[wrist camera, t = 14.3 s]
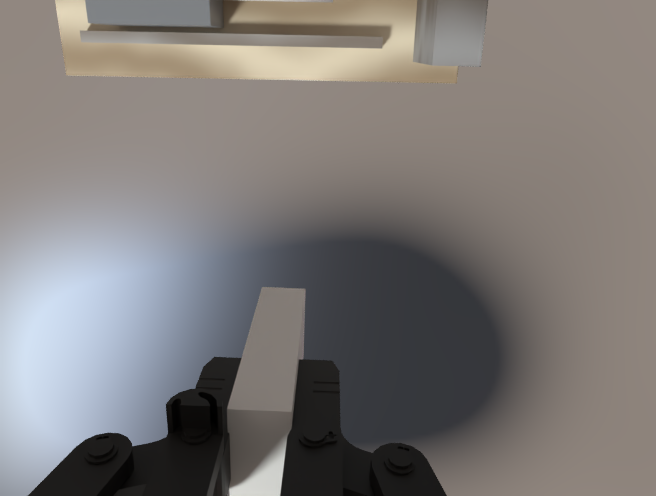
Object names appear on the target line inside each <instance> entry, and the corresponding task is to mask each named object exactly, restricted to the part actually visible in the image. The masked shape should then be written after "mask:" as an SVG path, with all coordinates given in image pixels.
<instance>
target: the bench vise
mask: <svg viewBox="0 0 656 496" xmlns="http://www.w3.org/2000/svg"><path fill="white" fill-rule="evenodd" d="M55 2H56V9H57V15H58V22H59V29H60V36H61V43H62V49H63V56H64V63H65V68H66V75H73V76H77V75H78V76H122V77H123V76H124V77H171V78H172V77H174V78H221V79H222V78H223V79H224V78H225V79H269V80H318V81H320V80H321V81H322V80H323V81H368V82H419V83H457V74H458V66H479V67H480V66H481V57H482V49H483V41H484V32H485V23H486V15H487V6H488V0H333V3H332V2H285V1H239V0H223V18H224V28H206V27H158V26H114V25H104V24H93V23H88V19H87V11H86V3H85V0H55Z"/></svg>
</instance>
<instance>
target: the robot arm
mask: <svg viewBox="0 0 656 496" xmlns="http://www.w3.org/2000/svg"><path fill="white" fill-rule="evenodd" d="M304 317H305V289H294V288H271V287H262V290H261V293H260V297H259V300H258V304H257V307H256V311H255V314H254V317H253V321H252V324H251V328H250V331H249V335H248V338H247V342H246V345H245V348H244V352H243V355H242V358H226V357H214V358H213V359H212V360H211V361H210V362H208V363H207V364H206V365H205V366H204V367H203V370H202V372H201V375H200V377H199V380H198V382H197V385H196V388H195V389H189V390H186V391H183V392H180V393H178V394H176V395H175V396H173V397H172V398H171V399H170V400H169V401H168V402H167V404H166V411H167V423H168V435H167V437H166V438H163V439H161V440H159V441H156V442H152V443H148V444H143V445H138V446H132V443H131V441H130V440H129V439H128V437H126V436H124V435H121V434H119V433H104V434H99V435H95V436H93V437H91V438H88V439H86V440H85V441H83V442H82V443H81V444H79V445H78V446H77V447H76V448H75V449H74V450H73V451H72V452H71V453H70V454H69V455H68V456H67V457H66V458H65V459H64V460H63V461H62V462H61V463H60V464H59V465H58V466H57V467H56V468H55V469H54V470H53V471H52V472H51V473H50V474H49V475H48V476H47V477H46V478H45V479H44V480H43V481H42V482H41V483H40V484H39V485H38V486H37V487H36V488H35V489H34V490H33V491H32V492H31V493H30V494H29V495H28V496H227V494H228V489H229V491H230V496H447V495H446V494H445V492H444V490H443V488H442V486H441V484H440V483H439V481H438V479H437V477H436V475H435V473H434V472H433V470H432V468H431V466H430V464H429V463H428V461H427V459H426V458H425V457H424V455H423V454H422V453H421V452H420V451H418V450H417V449H415V448H414V447H412V446H409V445H405V444H402V443H389V444H386V445H382V446H380V447H379V448H378V449H376V450H375V451H374V453H371V452H367V451H364V450H361V449H359V448H356V447H355V446H353V445H352V444H350V443H349V442H348V441H347V440H346V439H345V438H344V437H343V435H342V433H341V428H340V388H339V387H340V385H339V370H338V369H337V367H336V366H335V364H334V363H333V361H327V360H303V350H304Z"/></svg>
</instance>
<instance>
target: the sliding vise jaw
mask: <svg viewBox="0 0 656 496" xmlns="http://www.w3.org/2000/svg"><path fill="white" fill-rule="evenodd" d="M239 1H285V2H332V3H333V0H239ZM85 3H86V11H87V19H88V23H93V24H104V25H114V26H158V27H206V28H224V18H223V0H85Z"/></svg>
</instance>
